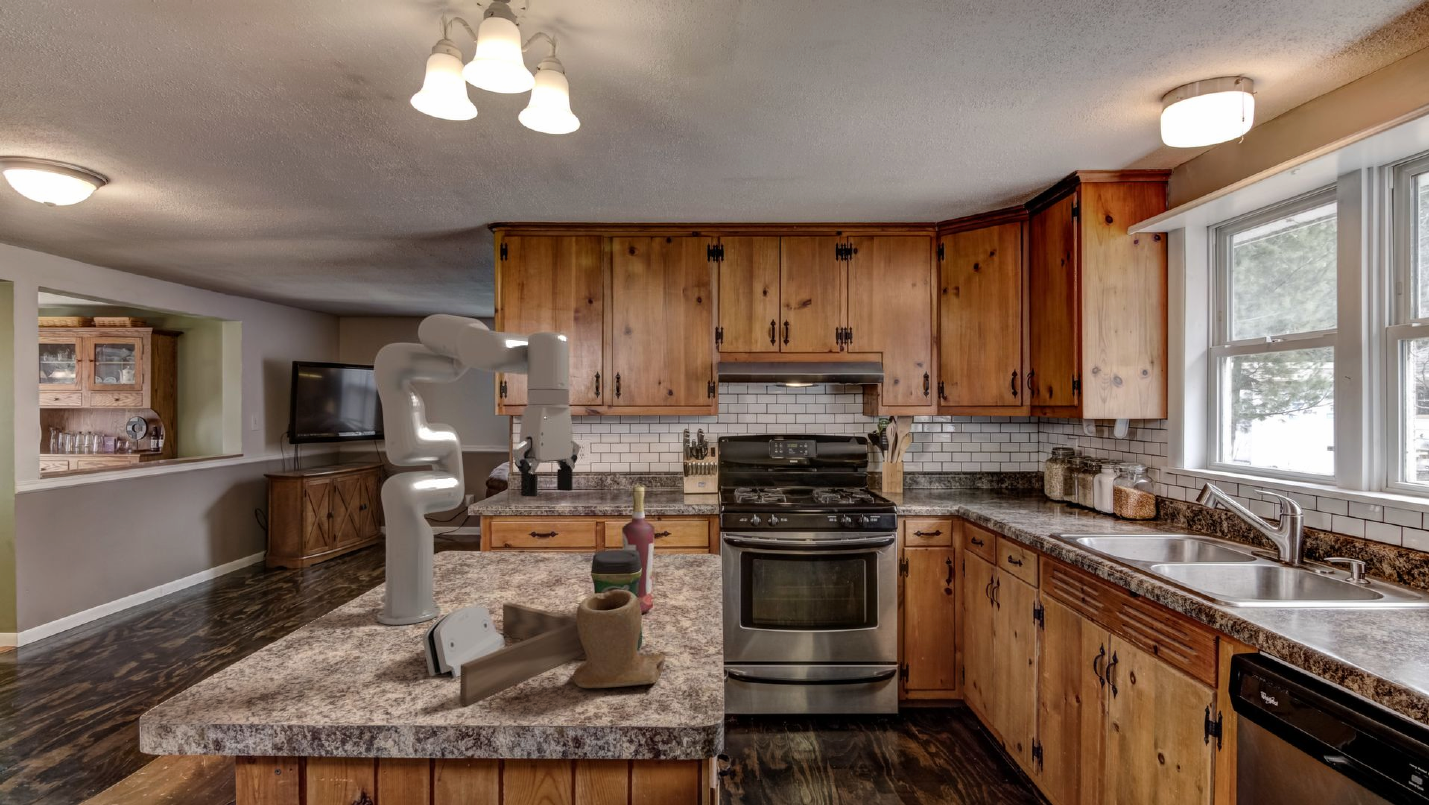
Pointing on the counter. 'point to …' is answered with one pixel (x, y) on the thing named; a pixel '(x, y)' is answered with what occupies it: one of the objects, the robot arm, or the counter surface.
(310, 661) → the counter surface
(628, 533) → the liquor
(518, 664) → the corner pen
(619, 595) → the tan boot-shaped piece
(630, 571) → the coffee jar
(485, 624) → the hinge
